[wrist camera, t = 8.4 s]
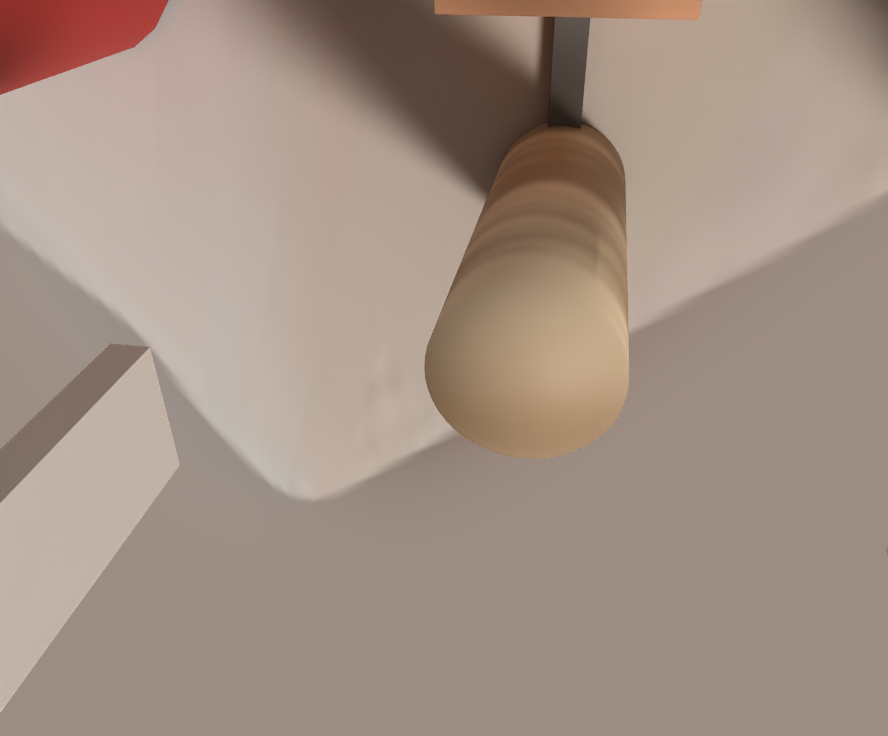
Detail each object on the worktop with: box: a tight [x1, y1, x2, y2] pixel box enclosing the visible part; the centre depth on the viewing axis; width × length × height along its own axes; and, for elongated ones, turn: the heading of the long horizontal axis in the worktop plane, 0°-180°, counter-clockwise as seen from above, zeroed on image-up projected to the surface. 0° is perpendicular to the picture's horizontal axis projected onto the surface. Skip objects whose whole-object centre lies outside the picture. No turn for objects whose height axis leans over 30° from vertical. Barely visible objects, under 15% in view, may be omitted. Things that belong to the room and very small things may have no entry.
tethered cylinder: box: [425, 0, 702, 458], centre depth 18 cm, size 14×6×12 cm, turn 0°
